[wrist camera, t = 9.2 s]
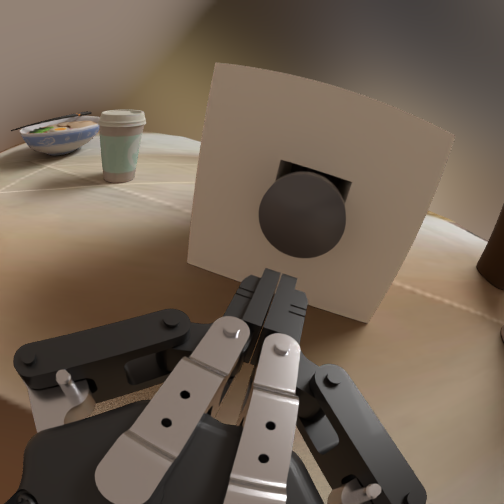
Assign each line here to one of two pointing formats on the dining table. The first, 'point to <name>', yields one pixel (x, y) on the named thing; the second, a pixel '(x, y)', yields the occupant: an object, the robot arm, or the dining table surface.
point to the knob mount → (321, 159)
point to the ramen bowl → (60, 133)
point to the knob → (303, 214)
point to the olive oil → (494, 255)
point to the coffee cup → (120, 143)
